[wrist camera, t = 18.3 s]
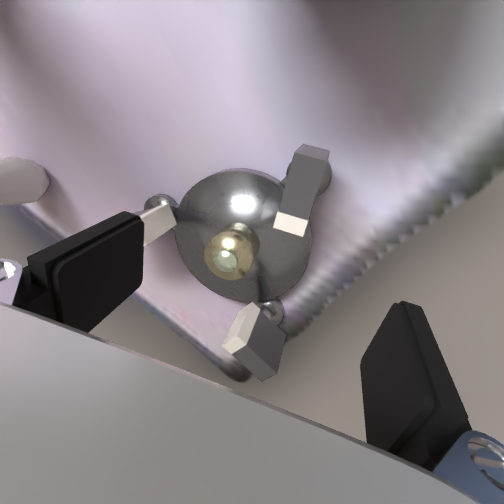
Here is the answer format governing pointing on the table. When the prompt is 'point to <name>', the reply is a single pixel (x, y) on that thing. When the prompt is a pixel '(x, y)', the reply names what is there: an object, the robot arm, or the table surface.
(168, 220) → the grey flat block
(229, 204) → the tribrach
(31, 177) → the salt shaker
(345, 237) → the table surface
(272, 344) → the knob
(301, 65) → the table surface
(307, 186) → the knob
